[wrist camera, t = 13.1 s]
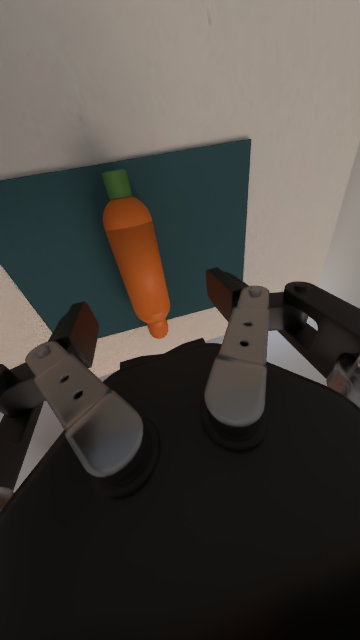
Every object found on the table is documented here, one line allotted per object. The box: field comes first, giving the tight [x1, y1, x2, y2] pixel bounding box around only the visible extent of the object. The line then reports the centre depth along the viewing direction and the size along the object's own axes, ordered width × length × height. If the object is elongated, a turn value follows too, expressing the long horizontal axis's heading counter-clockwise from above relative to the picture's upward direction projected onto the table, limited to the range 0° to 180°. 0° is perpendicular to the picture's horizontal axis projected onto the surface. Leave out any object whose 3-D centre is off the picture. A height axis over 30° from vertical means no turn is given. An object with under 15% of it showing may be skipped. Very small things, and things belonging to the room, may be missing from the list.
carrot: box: [102, 170, 170, 339], centre depth 18 cm, size 17×4×4 cm, turn 9°
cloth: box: [0, 139, 251, 339], centre depth 19 cm, size 16×24×1 cm, turn 99°
